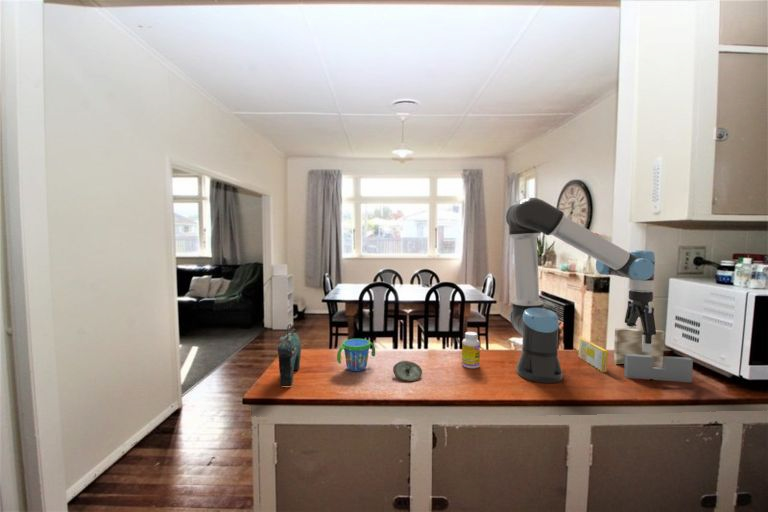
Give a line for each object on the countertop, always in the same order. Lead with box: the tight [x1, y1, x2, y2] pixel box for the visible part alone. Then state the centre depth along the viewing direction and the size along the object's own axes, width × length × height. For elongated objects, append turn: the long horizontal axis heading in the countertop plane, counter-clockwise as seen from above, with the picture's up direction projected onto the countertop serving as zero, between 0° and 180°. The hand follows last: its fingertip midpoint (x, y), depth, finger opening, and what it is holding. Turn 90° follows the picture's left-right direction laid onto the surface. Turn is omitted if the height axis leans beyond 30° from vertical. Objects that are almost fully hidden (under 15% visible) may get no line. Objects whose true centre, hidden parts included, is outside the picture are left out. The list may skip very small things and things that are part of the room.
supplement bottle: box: [461, 331, 481, 369], centre depth 133 cm, size 7×7×13 cm
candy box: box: [578, 337, 609, 373], centre depth 135 cm, size 16×2×8 cm, turn 179°
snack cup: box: [336, 338, 376, 372], centre depth 131 cm, size 16×10×10 cm
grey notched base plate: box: [623, 354, 694, 383], centre depth 121 cm, size 20×2×8 cm, turn 79°
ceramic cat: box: [277, 323, 302, 387], centre depth 122 cm, size 20×6×20 cm, turn 3°
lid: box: [392, 360, 423, 383], centre depth 123 cm, size 11×10×5 cm
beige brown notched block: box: [613, 327, 665, 367], centre depth 133 cm, size 16×2×14 cm, turn 79°
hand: (638, 346), depth 133 cm, fingers open, 10 cm apart
